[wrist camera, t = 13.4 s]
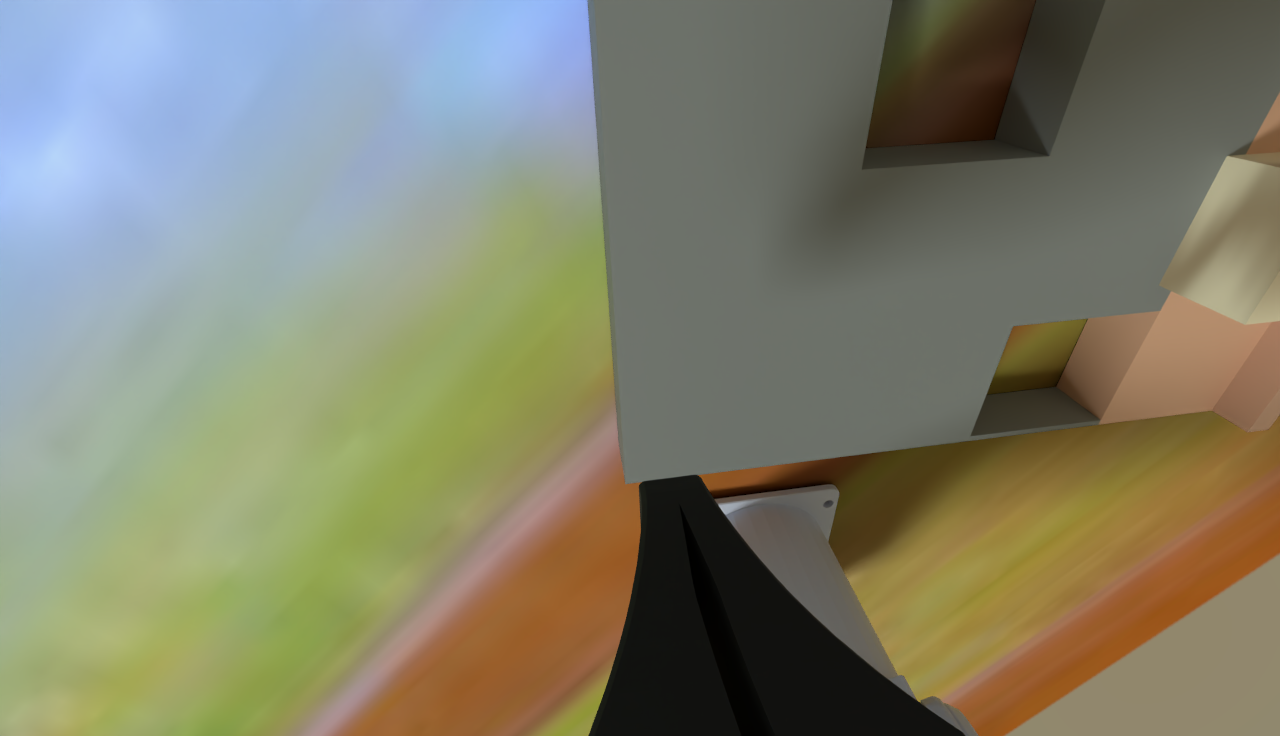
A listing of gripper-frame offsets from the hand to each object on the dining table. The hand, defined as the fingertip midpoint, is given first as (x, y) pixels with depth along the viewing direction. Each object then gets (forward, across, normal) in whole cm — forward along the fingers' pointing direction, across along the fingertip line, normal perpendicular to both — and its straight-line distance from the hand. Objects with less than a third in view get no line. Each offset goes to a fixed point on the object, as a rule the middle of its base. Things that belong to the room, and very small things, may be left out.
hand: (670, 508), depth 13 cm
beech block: (+7, -22, -3) cm, 23 cm away
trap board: (+9, -13, -2) cm, 16 cm away
